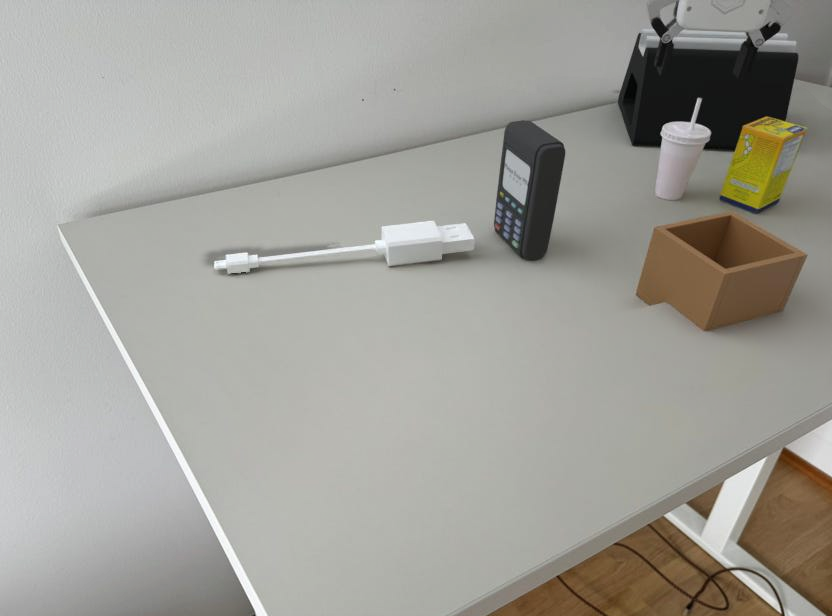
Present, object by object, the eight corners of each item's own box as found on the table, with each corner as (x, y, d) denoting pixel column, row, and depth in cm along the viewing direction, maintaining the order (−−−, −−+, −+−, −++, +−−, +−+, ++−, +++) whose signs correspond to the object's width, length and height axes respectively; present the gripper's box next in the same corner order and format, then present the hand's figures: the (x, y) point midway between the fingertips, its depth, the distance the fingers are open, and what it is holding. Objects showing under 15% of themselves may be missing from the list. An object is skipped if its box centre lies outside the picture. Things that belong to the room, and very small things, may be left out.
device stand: (777, 154, 114) (814, 57, 105) (632, 146, 118) (655, 51, 108) (743, 107, 132) (771, 20, 122) (617, 101, 135) (636, 16, 126)
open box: (708, 277, 86) (731, 210, 80) (777, 324, 78) (808, 254, 72) (635, 294, 83) (654, 226, 77) (698, 345, 75) (725, 274, 70)
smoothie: (677, 208, 100) (707, 109, 91) (636, 194, 104) (661, 97, 95) (699, 194, 103) (730, 97, 95) (658, 181, 107) (684, 86, 98)
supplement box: (739, 188, 105) (765, 115, 98) (779, 203, 101) (809, 127, 94) (716, 199, 102) (741, 124, 95) (756, 215, 98) (785, 137, 91)
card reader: (487, 230, 95) (500, 120, 86) (514, 226, 96) (530, 116, 87) (520, 263, 89) (538, 147, 79) (549, 258, 90) (570, 143, 80)
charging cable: (217, 267, 91) (212, 244, 89) (463, 238, 93) (465, 215, 91) (216, 288, 87) (211, 264, 85) (474, 257, 89) (475, 234, 87)
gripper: (672, -75, 81) (634, 79, 91) (835, -71, 78) (777, 87, 89) (661, -84, 86) (627, 62, 97) (813, -80, 84) (761, 69, 95)
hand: (699, 74), depth 93 cm, fingers open, 9 cm apart
